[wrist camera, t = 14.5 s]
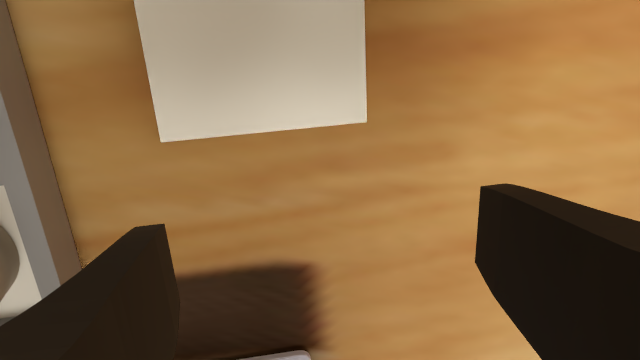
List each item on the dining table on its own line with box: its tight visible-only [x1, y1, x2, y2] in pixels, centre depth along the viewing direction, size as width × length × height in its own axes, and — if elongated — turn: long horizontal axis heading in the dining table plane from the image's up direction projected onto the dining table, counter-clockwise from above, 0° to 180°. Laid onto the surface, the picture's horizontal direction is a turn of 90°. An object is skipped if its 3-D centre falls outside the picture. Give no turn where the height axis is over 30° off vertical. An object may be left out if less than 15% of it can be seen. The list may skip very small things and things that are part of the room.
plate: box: [134, 0, 367, 142], centre depth 18 cm, size 8×8×1 cm
